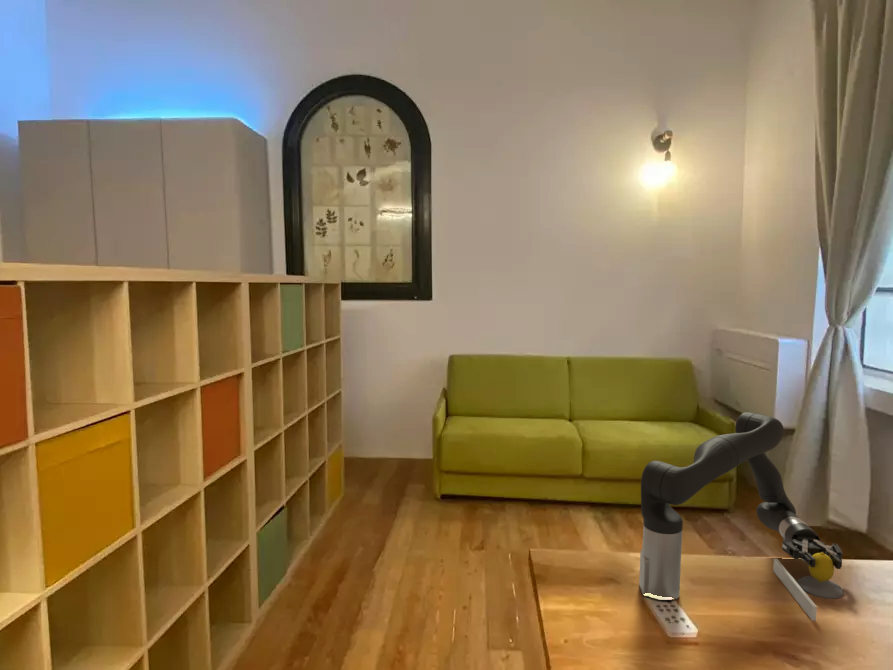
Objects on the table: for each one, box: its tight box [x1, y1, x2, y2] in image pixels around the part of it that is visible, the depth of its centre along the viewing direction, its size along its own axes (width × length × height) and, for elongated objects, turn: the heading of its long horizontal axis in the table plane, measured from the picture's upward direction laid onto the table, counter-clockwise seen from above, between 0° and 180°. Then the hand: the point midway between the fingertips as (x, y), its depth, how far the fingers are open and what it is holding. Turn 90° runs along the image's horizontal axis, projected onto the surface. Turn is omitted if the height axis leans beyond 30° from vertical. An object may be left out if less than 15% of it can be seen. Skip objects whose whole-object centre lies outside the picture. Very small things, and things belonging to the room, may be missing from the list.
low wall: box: [772, 558, 818, 622], centre depth 156 cm, size 1×24×4 cm, turn 172°
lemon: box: [808, 552, 835, 583], centre depth 159 cm, size 6×6×8 cm
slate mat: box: [797, 575, 844, 600], centre depth 159 cm, size 10×10×1 cm
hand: (826, 564), depth 156 cm, fingers closed on lemon, 5 cm apart
